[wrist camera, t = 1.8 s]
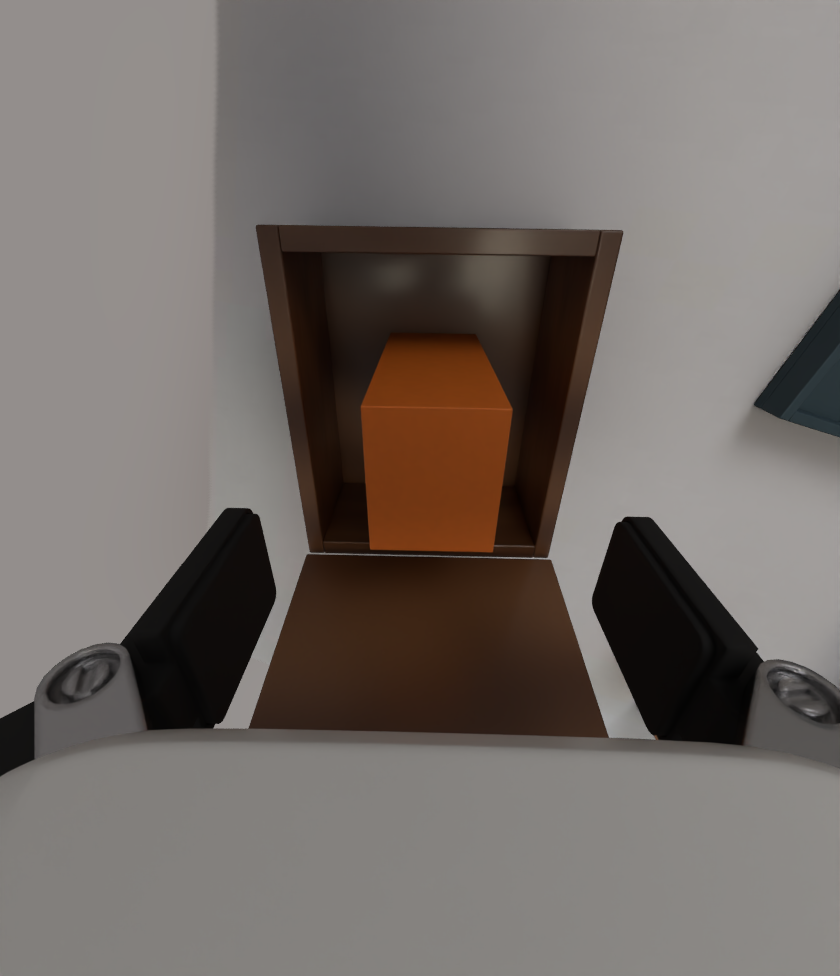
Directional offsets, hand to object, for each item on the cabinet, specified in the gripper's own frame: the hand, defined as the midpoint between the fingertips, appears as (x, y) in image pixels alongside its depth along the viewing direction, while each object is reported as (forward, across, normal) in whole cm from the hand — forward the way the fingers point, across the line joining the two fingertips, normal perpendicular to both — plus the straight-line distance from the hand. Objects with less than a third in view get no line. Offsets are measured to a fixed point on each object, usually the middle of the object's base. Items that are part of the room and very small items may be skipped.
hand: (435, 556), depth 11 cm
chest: (+15, 0, 0) cm, 15 cm away
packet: (+14, 0, 0) cm, 14 cm away
